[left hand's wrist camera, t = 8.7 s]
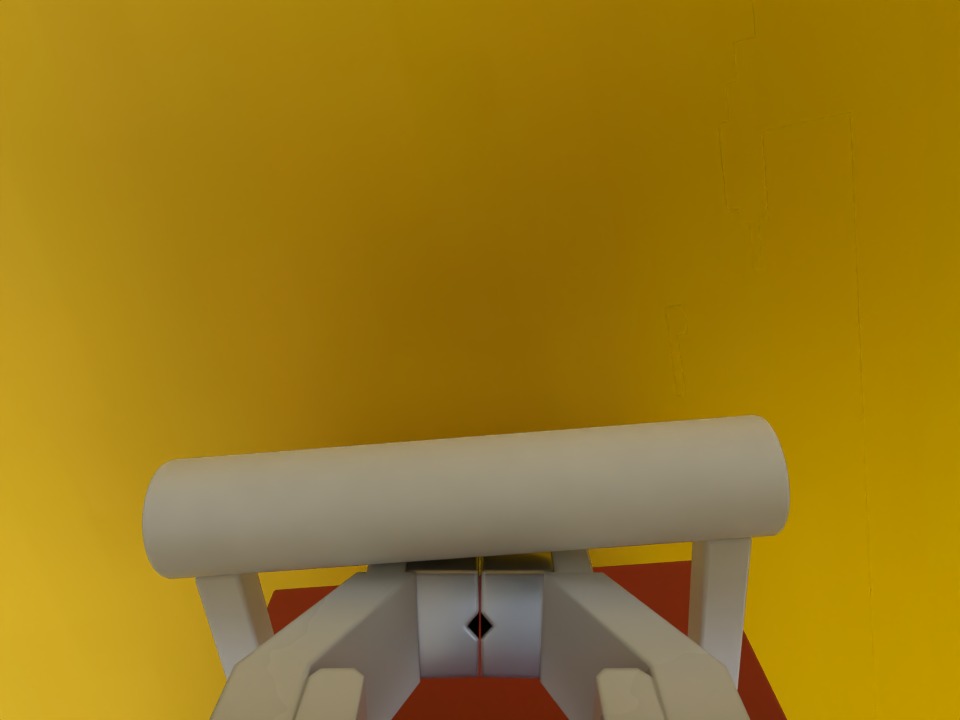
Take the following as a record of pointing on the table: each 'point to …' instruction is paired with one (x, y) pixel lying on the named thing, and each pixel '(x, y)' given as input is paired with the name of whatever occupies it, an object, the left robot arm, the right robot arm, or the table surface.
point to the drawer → (483, 531)
